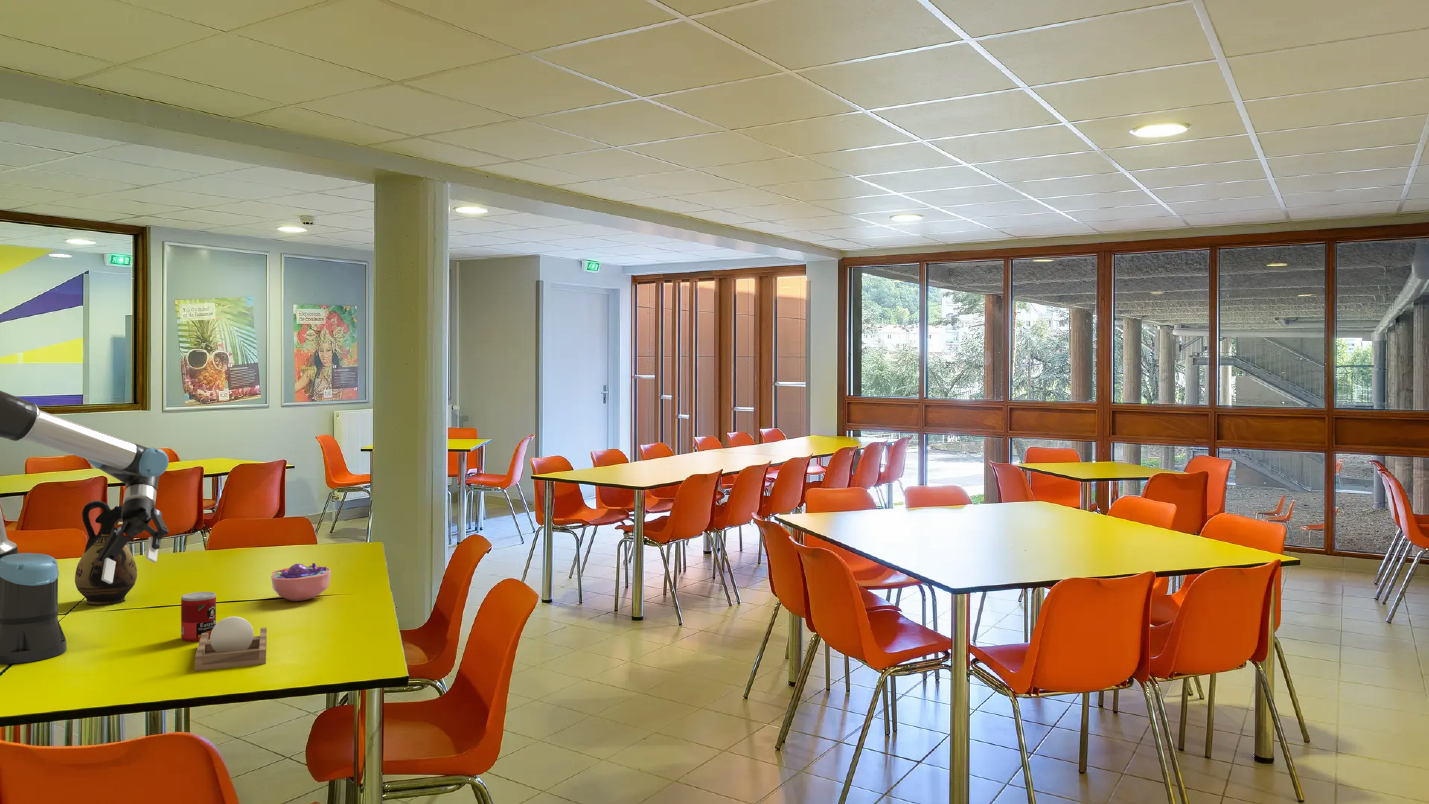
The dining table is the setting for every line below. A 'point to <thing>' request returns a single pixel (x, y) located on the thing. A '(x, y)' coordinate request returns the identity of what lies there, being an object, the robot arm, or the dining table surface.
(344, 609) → the dining table surface
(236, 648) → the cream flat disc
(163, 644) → the dining table surface
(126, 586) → the ceramic jug
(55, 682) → the dining table surface
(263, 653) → the walnut tray
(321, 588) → the cell model
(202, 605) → the canned food
